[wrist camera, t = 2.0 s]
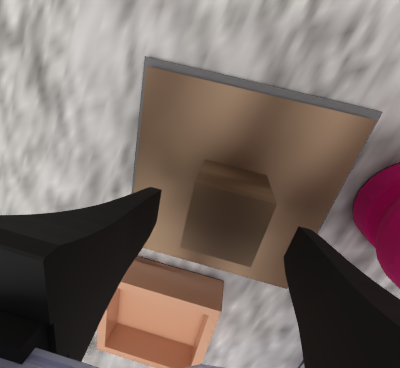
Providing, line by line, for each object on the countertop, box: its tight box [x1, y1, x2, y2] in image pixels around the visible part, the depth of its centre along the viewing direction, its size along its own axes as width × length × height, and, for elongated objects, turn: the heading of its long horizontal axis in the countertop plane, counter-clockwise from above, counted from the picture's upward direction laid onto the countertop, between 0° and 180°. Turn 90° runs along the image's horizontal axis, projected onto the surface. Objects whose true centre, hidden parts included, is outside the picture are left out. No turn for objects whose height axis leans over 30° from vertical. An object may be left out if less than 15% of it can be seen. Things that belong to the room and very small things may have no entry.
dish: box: [97, 256, 224, 368], centre depth 21 cm, size 10×10×3 cm
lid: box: [134, 66, 377, 289], centre depth 13 cm, size 13×13×5 cm
